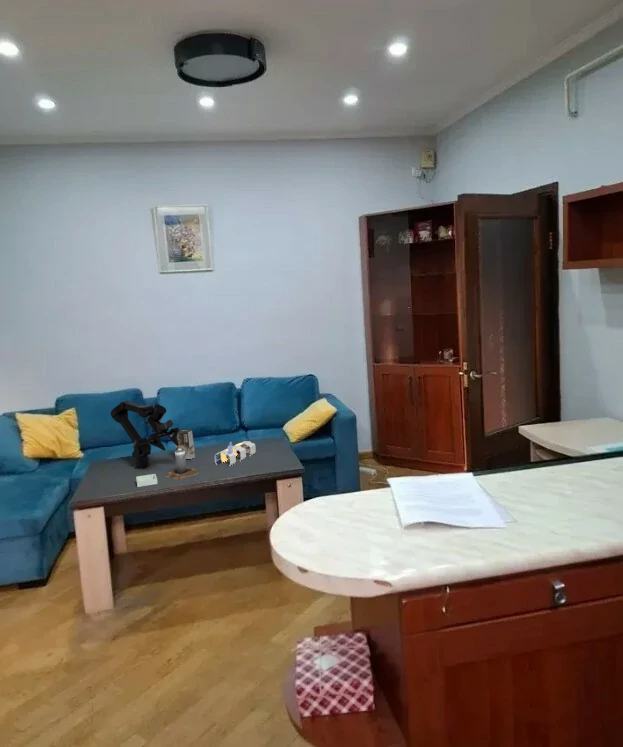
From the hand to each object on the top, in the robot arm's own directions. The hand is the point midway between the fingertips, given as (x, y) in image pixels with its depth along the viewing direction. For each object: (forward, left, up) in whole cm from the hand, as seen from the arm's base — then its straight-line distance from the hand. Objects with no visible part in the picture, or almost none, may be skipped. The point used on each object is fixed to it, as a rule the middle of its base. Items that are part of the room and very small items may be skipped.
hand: (171, 448), depth 312 cm
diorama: (+27, +23, -14) cm, 38 cm away
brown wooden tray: (+6, -5, -14) cm, 16 cm away
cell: (+6, -5, -13) cm, 15 cm away
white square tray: (-7, -17, -14) cm, 23 cm away
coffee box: (-5, +27, -14) cm, 31 cm away
